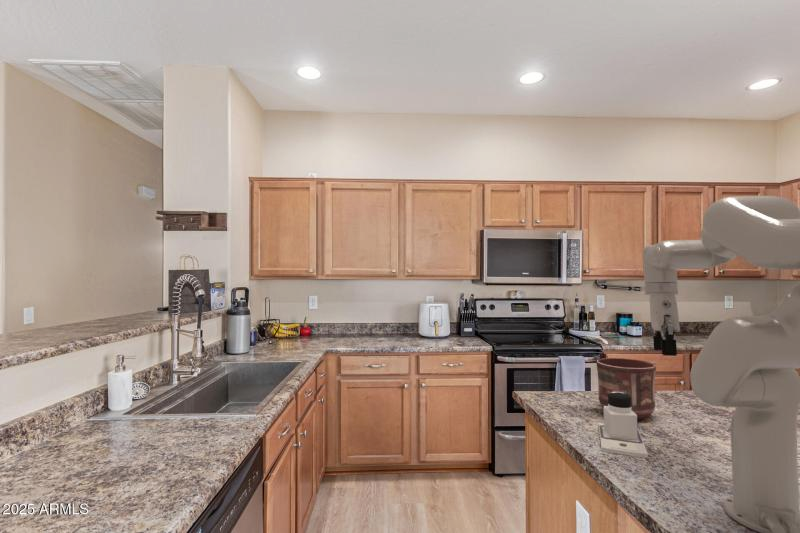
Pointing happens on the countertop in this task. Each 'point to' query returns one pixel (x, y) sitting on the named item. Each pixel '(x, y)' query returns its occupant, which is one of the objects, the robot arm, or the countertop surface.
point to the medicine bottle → (620, 417)
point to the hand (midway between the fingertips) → (664, 352)
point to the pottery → (628, 383)
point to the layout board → (621, 444)
